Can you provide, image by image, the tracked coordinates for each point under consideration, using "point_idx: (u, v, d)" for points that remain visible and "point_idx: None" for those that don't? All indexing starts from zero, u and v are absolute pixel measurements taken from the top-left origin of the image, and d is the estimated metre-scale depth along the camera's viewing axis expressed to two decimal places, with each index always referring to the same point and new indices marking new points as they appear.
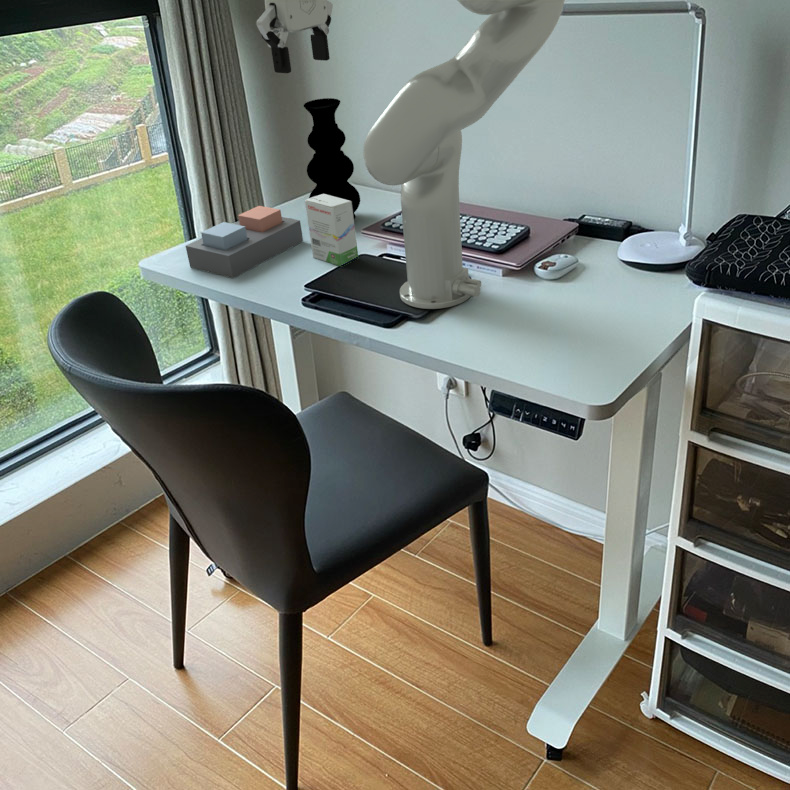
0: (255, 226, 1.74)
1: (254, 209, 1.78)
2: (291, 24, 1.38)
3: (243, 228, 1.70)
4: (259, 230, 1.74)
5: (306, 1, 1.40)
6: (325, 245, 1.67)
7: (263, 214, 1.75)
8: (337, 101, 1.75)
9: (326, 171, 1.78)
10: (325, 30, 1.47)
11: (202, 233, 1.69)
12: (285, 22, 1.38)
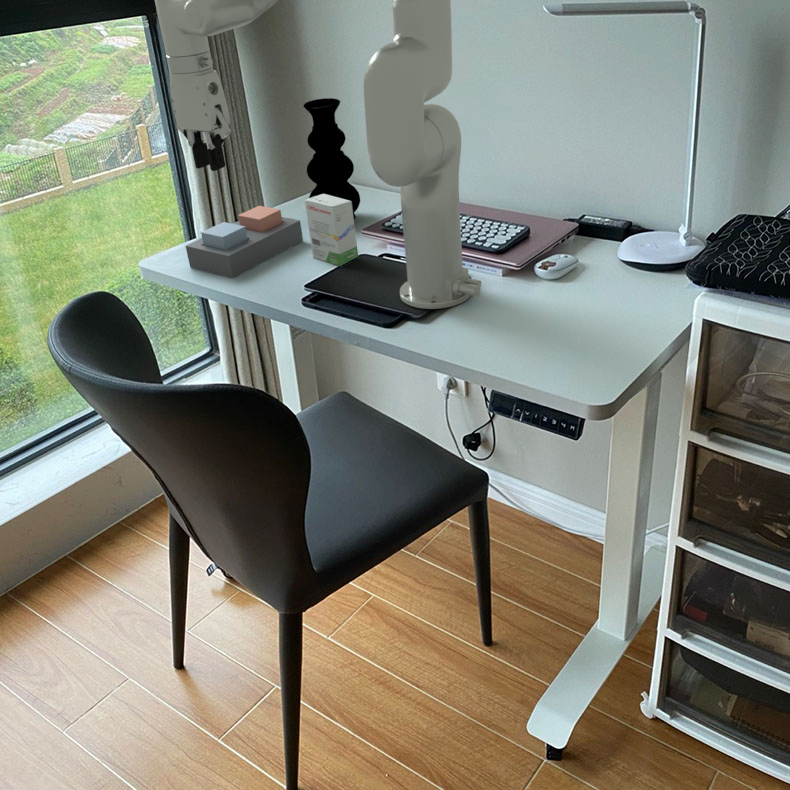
0: (255, 226, 1.74)
1: (254, 209, 1.78)
2: None
3: (243, 228, 1.70)
4: (259, 230, 1.74)
5: None
6: (325, 245, 1.67)
7: (263, 214, 1.75)
8: (337, 101, 1.75)
9: (326, 171, 1.78)
10: None
11: (202, 233, 1.69)
12: (228, 117, 1.57)
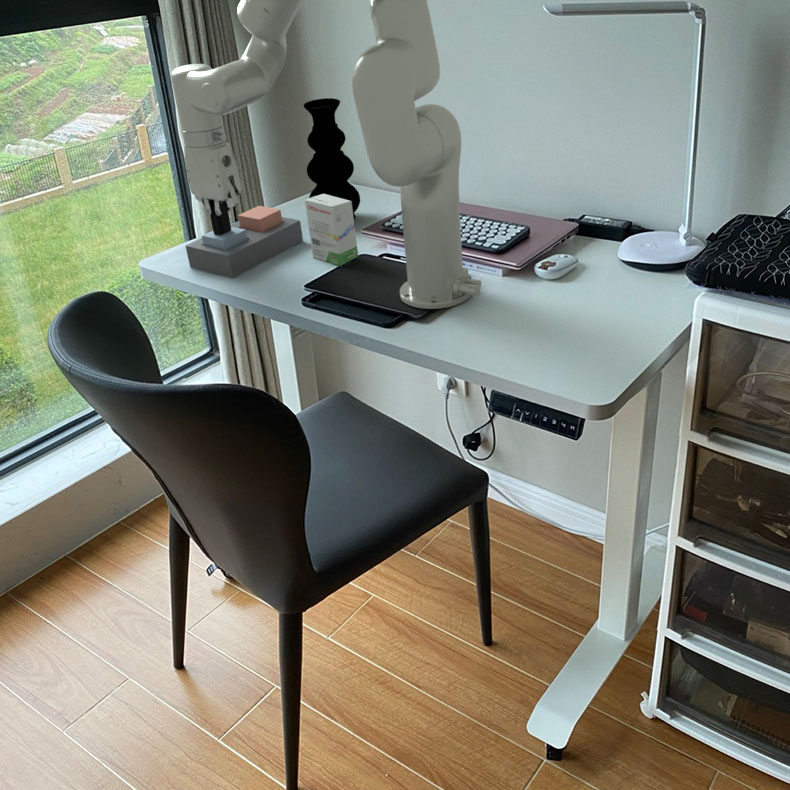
0: (255, 226, 1.74)
1: (254, 209, 1.78)
2: None
3: (244, 232, 1.70)
4: (259, 230, 1.74)
5: None
6: (325, 245, 1.67)
7: (263, 214, 1.75)
8: (337, 101, 1.75)
9: (326, 171, 1.78)
10: None
11: (203, 236, 1.69)
12: (240, 187, 1.64)
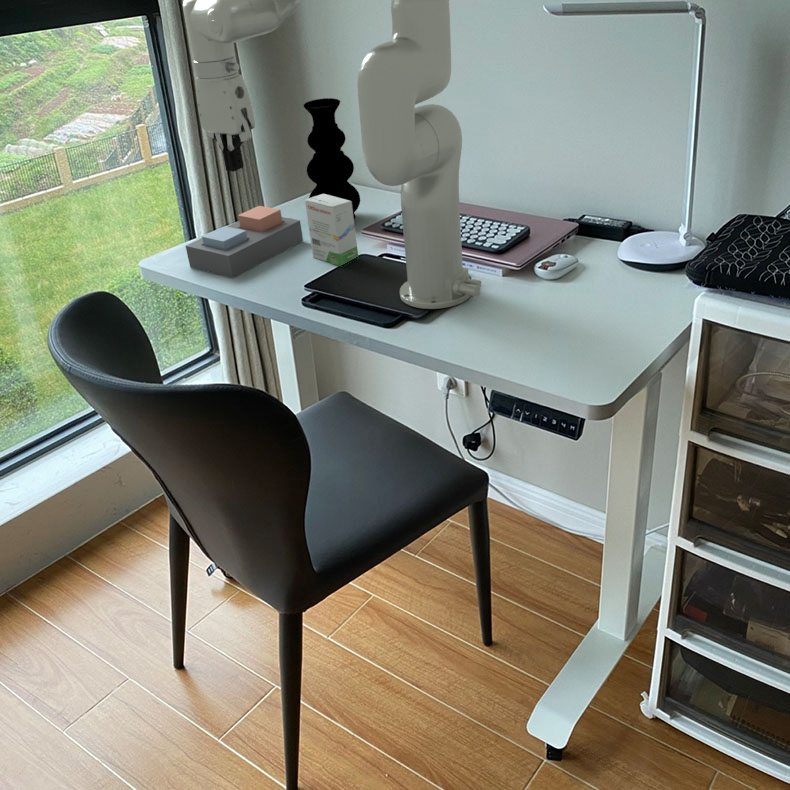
0: (255, 226, 1.74)
1: (254, 209, 1.78)
2: None
3: (244, 233, 1.70)
4: (259, 230, 1.74)
5: None
6: (325, 245, 1.67)
7: (263, 214, 1.75)
8: (337, 101, 1.75)
9: (326, 171, 1.78)
10: None
11: (203, 237, 1.69)
12: (253, 120, 1.62)
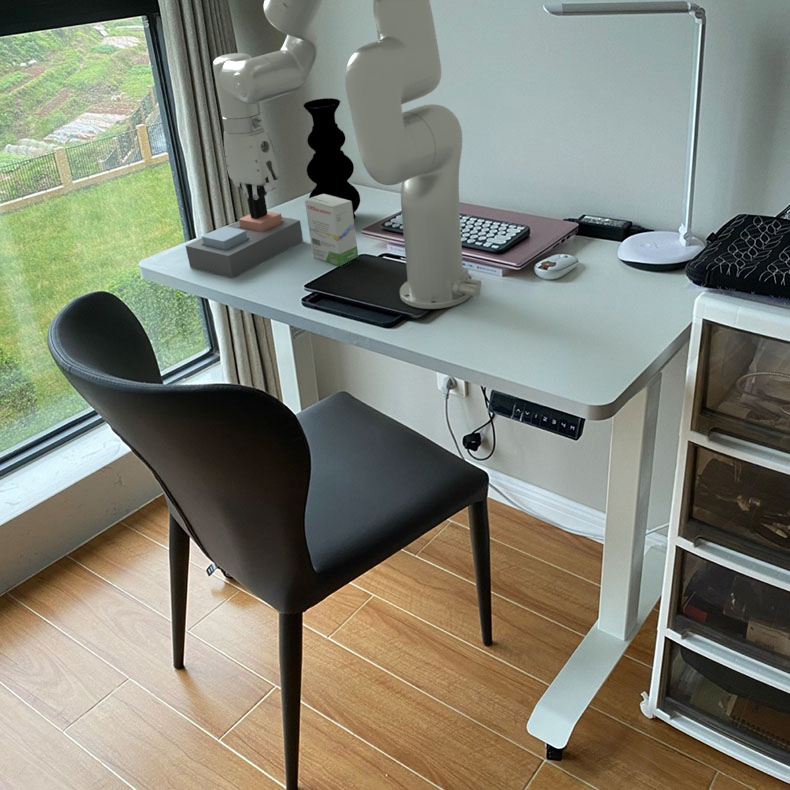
0: (255, 230, 1.74)
1: None
2: None
3: (244, 233, 1.70)
4: None
5: None
6: (325, 245, 1.67)
7: (264, 218, 1.75)
8: (337, 101, 1.75)
9: (326, 171, 1.78)
10: None
11: (203, 237, 1.69)
12: (277, 172, 1.71)
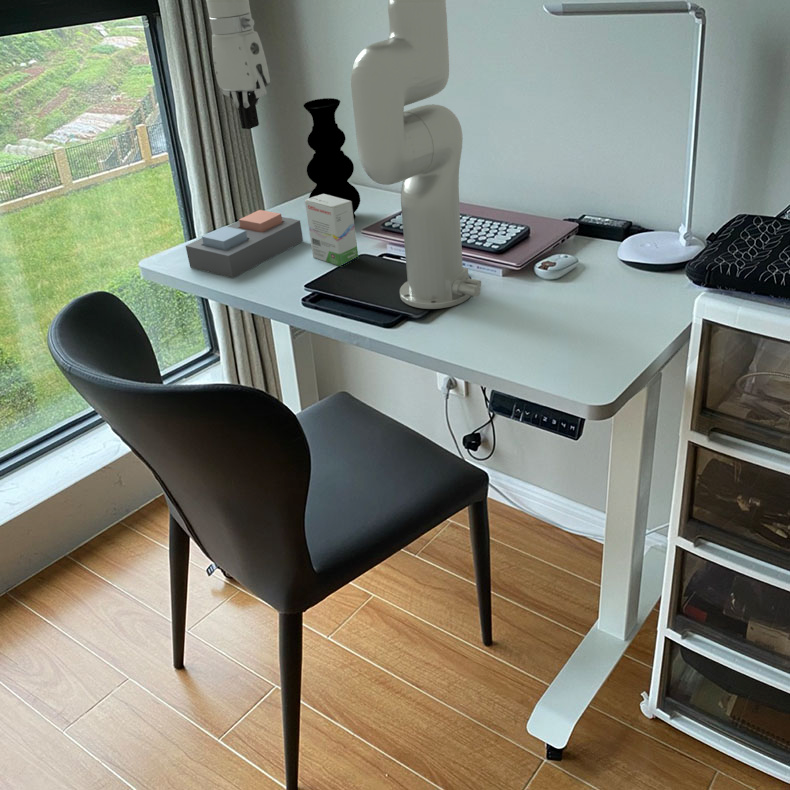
0: (256, 230, 1.75)
1: (255, 213, 1.78)
2: None
3: (244, 233, 1.70)
4: None
5: None
6: (325, 245, 1.67)
7: (264, 218, 1.75)
8: (337, 101, 1.75)
9: (326, 171, 1.78)
10: None
11: (203, 237, 1.69)
12: (268, 77, 1.65)
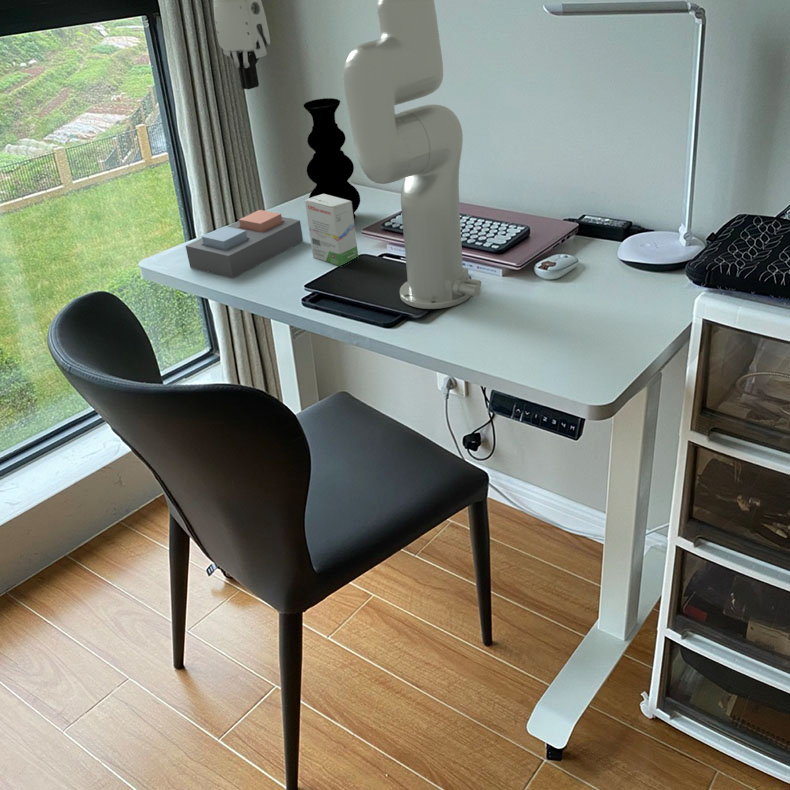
0: (256, 230, 1.75)
1: (255, 213, 1.78)
2: None
3: (244, 233, 1.70)
4: None
5: None
6: (325, 245, 1.67)
7: (264, 218, 1.75)
8: (337, 101, 1.75)
9: (326, 171, 1.78)
10: None
11: (203, 237, 1.69)
12: (269, 38, 1.67)
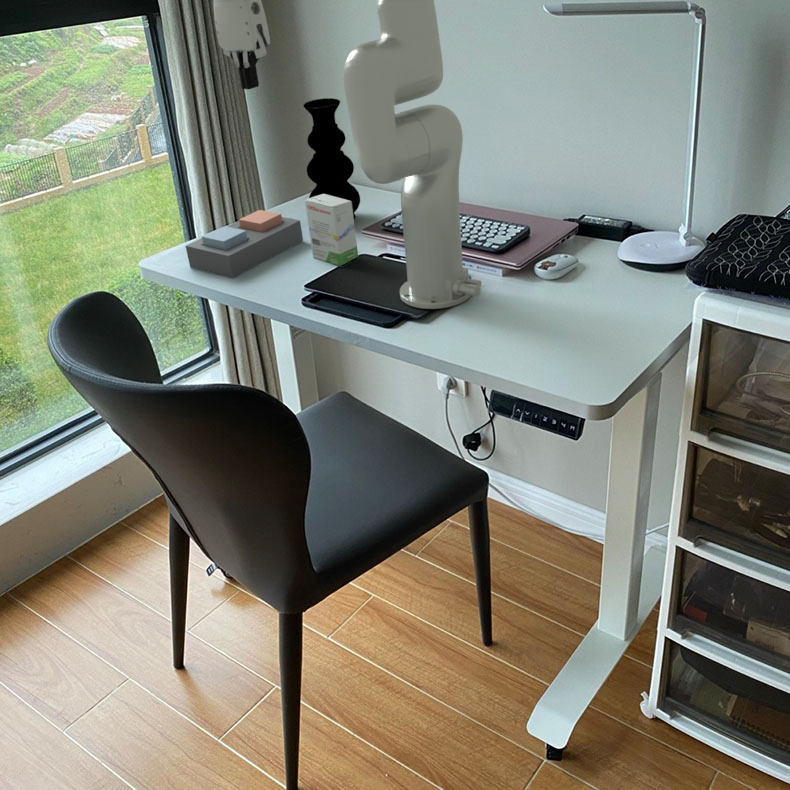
0: (256, 230, 1.75)
1: (255, 213, 1.78)
2: None
3: (244, 233, 1.70)
4: None
5: None
6: (325, 245, 1.67)
7: (264, 218, 1.75)
8: (337, 101, 1.75)
9: (326, 171, 1.78)
10: None
11: (203, 237, 1.69)
12: (269, 38, 1.67)
